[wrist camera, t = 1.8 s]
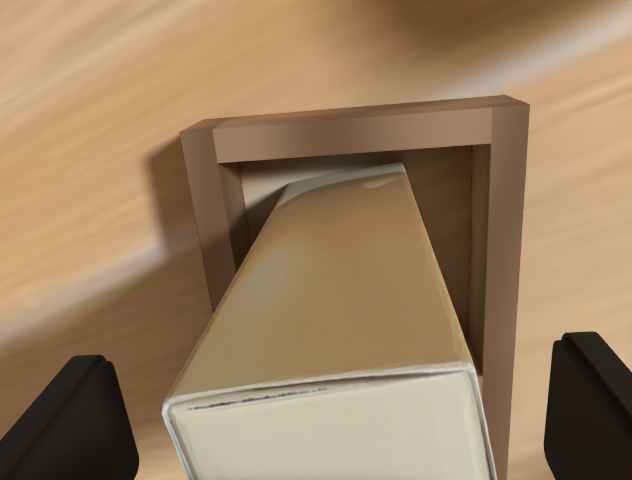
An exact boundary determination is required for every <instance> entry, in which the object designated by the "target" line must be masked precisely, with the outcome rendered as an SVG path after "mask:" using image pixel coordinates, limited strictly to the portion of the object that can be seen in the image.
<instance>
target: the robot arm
mask: <svg viewBox="0 0 632 480" xmlns="http://www.w3.org/2000/svg"><path fill="white" fill-rule="evenodd" d="M544 452H545V457H546V460H547V462H548V465H549V467H550V469H551V471H552V473H553V475H554V477H555V479H556V480H632V372H631V371H630V370H629V369H628V368H627V366H626V365H625V364H624V363H623V362H622V361H621V359H620V358H619V357H618V356H617V355H616V354H615V353H614V351H613V350H612V349H611V348H610V347H609V346H608V344H607V343H606V342H605V341H604V340H603V339H602V337H601V336H600V335H599V334H598V333H596V332H572V333H565V334H563V336H562V340H556V341H555V342H554V344H553V351H552V361H551V372H550V382H549V393H548V404H547V414H546V425H545V435H544ZM138 467H139V455H138V451H137V447H136V444H135V440H134V437H133V433H132V429H131V426H130V422H129V419H128V415H127V411H126V408H125V404H124V401H123V397H122V394H121V390H120V386H119V383H118V379H117V376H116V372H115V368H114V366H113V363H112V362H110V361H106V359H105V358H104V356H102V355H82V356H74V357H72V358H71V359H70V360H69V361H68V362H67V364H66V365H65V366H64V367H63V368H62V369H61V371H60V372H59V373H58V374H57V375H56V376H55V378H54V379H53V380H52V381H51V382H50V383H49V385H48V386H47V387H46V388H45V389H44V390H43V392H42V393H41V394H40V395H39V396H38V397H37V399H36V400H35V401H34V402H33V403H32V404H31V406H30V407H29V408H28V409H27V410H26V411H25V413H24V414H23V415H22V416H21V417H20V418H19V420H18V421H17V422H16V423H15V424H14V425H13V427H12V428H11V429H10V430H9V431H8V432H7V434H6V435H5V436H4V437H3V438H2V439H1V441H0V480H134V478H135V476H136V474H137V471H138Z"/></svg>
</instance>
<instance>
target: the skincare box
mask: <svg viewBox="0 0 632 480" xmlns="http://www.w3.org/2000/svg"><path fill="white" fill-rule="evenodd" d="M161 413H162V417H163V420H164V422H165V425H166V427H167V429H168V432H169V434H170V436H171V439H172V441H173V444H174V446H175V449H176V452H177V454H178V457H179V460H180V462H181V465H182V467H183V469H184V472H185V474H186V477H187V479H188V480H497V475H496V470H495V464H494V459H493V454H492V449H491V444H490V439H489V434H488V427H487V422H486V418H485V413H484V409H483V403H482V398H481V393H480V388H479V383H478V378H477V374H476V370H475V366H474V363H473V360H472V358H471V355H470V352H469V350H468V347H467V344H466V342H465V338H464V335H463V333H462V330H461V327H460V324H459V321H458V318H457V315H456V312H455V310H454V307H453V304H452V302H451V299H450V296H449V293H448V290H447V288H446V285H445V282H444V279H443V276H442V274H441V271H440V268H439V265H438V262H437V260H436V257H435V254H434V251H433V249H432V246H431V243H430V240H429V237H428V234H427V231H426V229H425V226H424V223H423V220H422V218H421V215H420V212H419V209H418V206H417V203H416V200H415V198H414V195H413V192H412V189H411V185H410V182H409V179H408V177H407V174H406V171H405V168H404V165H403V164H402V163H401V162H396V163H391V164H385V165H379V166H373V167H366V168H362V169H356V170H350V171H345V172H340V173H335V174H330V175H325V176H320V177H315V178H310V179H305V180H301V181H296V182H292V183H290V184H288V185H287V186H286V188H285V190H284V192H283V193H282V195H281V197H280V198H279V200H278V202H277V204H276V205H275V207H274V209H273V211H272V212H271V214H270V216H269V218H268V219H267V221H266V223H265V225H264V226H263V228H262V230H261V232H260V233H259V235H258V237H257V238H256V240H255V242H254V244H253V245H252V247H251V249H250V251H249V253H248V254H247V256H246V258H245V260H244V261H243V263H242V265H241V267H240V268H239V270H238V272H237V273H236V275H235V277H234V279H233V280H232V282H231V284H230V286H229V288H228V289H227V291H226V293H225V295H224V296H223V298H222V300H221V302H220V303H219V305H218V307H217V309H216V311H215V312H214V314H213V316H212V318H211V319H210V321H209V323H208V325H207V326H206V328H205V330H204V332H203V334H202V335H201V337H200V338H199V340H198V342H197V343H196V345H195V347H194V349H193V351H192V352H191V354H190V356H189V358H188V359H187V361H186V363H185V365H184V366H183V368H182V370H181V371H180V373H179V375H178V377H177V378H176V380H175V382H174V384H173V385H172V387H171V389H170V391H169V393H168V394H167V396H166V398H165V399H164V401H163V405H162V408H161Z"/></svg>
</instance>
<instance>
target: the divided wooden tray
mask: <svg viewBox="0 0 632 480" xmlns="http://www.w3.org/2000/svg"><path fill="white" fill-rule="evenodd" d="M529 110H530V104H527V103H525V102H522V101H519V100H517V99H514V98H512V97H509V96H507V95H500V96H488V97H476V98H463V99H451V100H439V101H427V102H414V103H402V104H390V105H378V106H365V107H353V108H341V109H329V110H316V111H304V112H292V113H280V114H267V115H255V116H243V117H231V118H218V119H206V120H202V121H200V122H198V123H196V124H194V125H192V126H190V127H189V128H187V129H185V130H183V131H181V132H180V138H181V143H182V149H183V154H184V159H185V165H186V170H187V176H188V181H189V186H190V192H191V197H192V203H193V208H194V213H195V219H196V224H197V230H198V235H199V240H200V246H201V251H202V256H203V262H204V267H205V273H206V278H207V283H208V289H209V294H210V300H211V305H212V310H213V314H214V312H215V311H216V309H217V307H218V305H219V303H220V302H221V300H222V298H223V296H224V295H225V293H226V291H227V289H228V288H229V286H230V284H231V282H232V280H233V279H234V277H235V275H236V273H237V272H238V270H239V268H240V267H241V265H242V263H243V261H244V260H245V258H246V256H247V254H248V253H249V251H250V249H251V244H250V237H249V230H248V224H247V217H246V210H245V203H244V196H243V189H242V183H241V176H240V169H239V162H240V161H254V160H268V159H282V158H295V157H309V156H323V155H337V154H351V153H365V152H379V151H393V150H406V149H420V148H434V147H448V146H462V145H472V184H471V227H470V271H469V314H468V337H464V338H465V342H466V344H467V347H468V350H469V352H470V355H471V358H472V360H473V363H474V366H475V370H476V374H477V378H478V383H479V388H480V393H481V398H482V403H483V409H484V413H485V418H486V422H487V427H488V434H489V439H490V444H491V449H492V454H493V459H494V464H495V470H496V475H497V480H506V479H507V462H508V446H509V430H510V414H511V398H512V382H513V366H514V350H515V334H516V318H517V302H518V286H519V270H520V254H521V238H522V222H523V206H524V190H525V174H526V158H527V142H528V126H529Z"/></svg>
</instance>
